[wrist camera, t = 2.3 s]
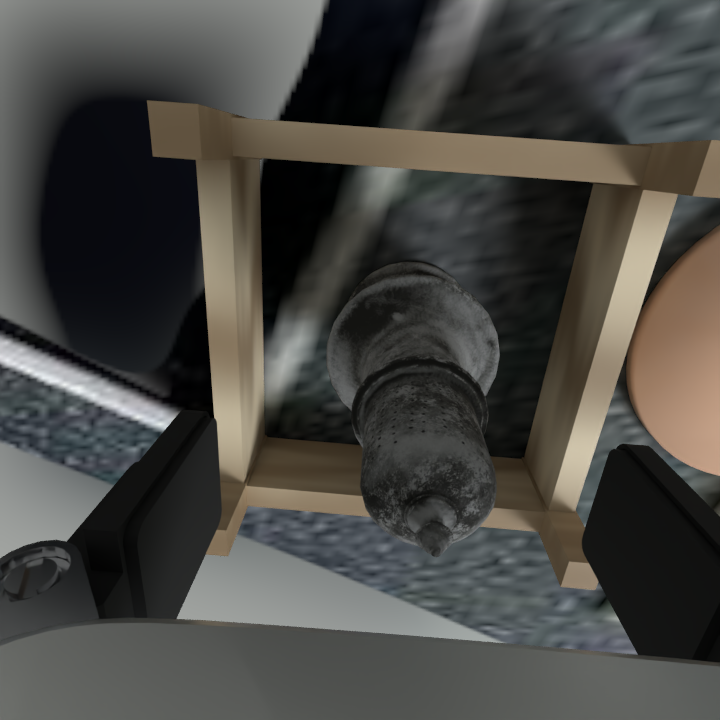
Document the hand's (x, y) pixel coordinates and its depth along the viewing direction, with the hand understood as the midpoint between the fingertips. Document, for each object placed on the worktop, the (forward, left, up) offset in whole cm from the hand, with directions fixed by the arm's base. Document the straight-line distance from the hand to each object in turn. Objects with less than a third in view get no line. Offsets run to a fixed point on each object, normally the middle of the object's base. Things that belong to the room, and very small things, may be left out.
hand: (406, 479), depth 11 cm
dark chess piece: (-1, 0, -9) cm, 9 cm away
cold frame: (-1, 0, -9) cm, 9 cm away
